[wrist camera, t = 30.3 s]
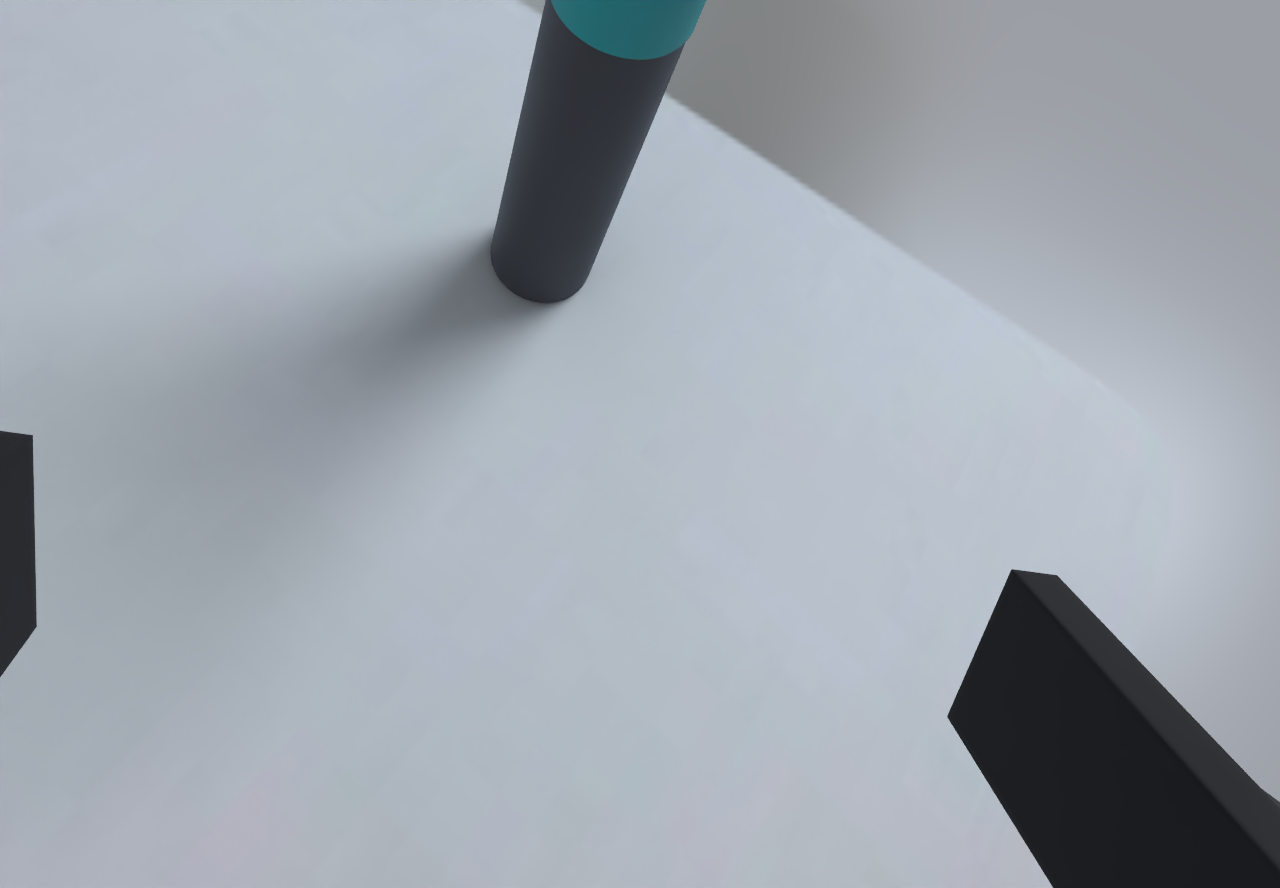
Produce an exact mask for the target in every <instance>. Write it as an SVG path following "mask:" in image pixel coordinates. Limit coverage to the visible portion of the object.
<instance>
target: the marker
mask: <svg viewBox="0 0 1280 888" xmlns="http://www.w3.org/2000/svg"><path fill="white" fill-rule="evenodd" d="M705 2H706V0H546V1H545V6H544V10H543V15H542V19H541V24H540V28H539V33H538V37H537V42H536V46H535V51H534V56H533V60H532V65H531V69H530V74H529V78H528V83H527V87H526V92H525V96H524V101H523V105H522V110H521V114H520V119H519V123H518V128H517V132H516V137H515V141H514V146H513V150H512V155H511V159H510V164H509V168H508V173H507V178H506V182H505V187H504V191H503V196H502V200H501V205H500V209H499V214H498V218H497V223H496V227H495V232H494V236H493V241H492V245H491V260H492V265H493V267H494V270H495V272H496V274H497V276H498V277H499V279H500V280H501V281H502V283H503V284H504V285H505V286H506V287H507V288H509V289H510V290H511V291H512V292H514V293H515V294H517V295H519V296H521V297H523V298H525V299H528V300H532V301H536V302H556V301H560V300H563V299H565V298H568V297H570V296H571V295H573V294H575V293H576V292H577V291H578V290H579V289H580V288H581V287H582V286H583V284H584V283H585V281H586V279H587V277H588V275H589V273H590V270H591V268H592V266H593V263H594V261H595V258H596V256H597V254H598V251H599V249H600V246H601V244H602V242H603V239H604V237H605V234H606V232H607V230H608V227H609V225H610V222H611V220H612V218H613V215H614V213H615V210H616V208H617V206H618V203H619V201H620V198H621V196H622V194H623V191H624V189H625V186H626V184H627V182H628V179H629V177H630V174H631V172H632V170H633V167H634V165H635V162H636V160H637V158H638V155H639V153H640V150H641V148H642V146H643V143H644V141H645V138H646V136H647V133H648V131H649V129H650V126H651V124H652V121H653V119H654V117H655V114H656V112H657V109H658V107H659V105H660V102H661V100H662V97H663V95H664V93H665V90H666V88H667V85H668V83H669V81H670V78H671V76H672V73H673V71H674V69H675V66H676V64H677V61H678V59H679V57H680V54H681V52H682V49H683V47H684V45H685V42H686V41H687V40H688V38H689V37H690V36H691V34H692V32H693V30H694V28H695V26H696V23H697V21H698V19H699V16H700V14H701V11H702V9H703V7H704V4H705Z"/></svg>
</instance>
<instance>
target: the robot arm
mask: <svg viewBox="0 0 1280 888" xmlns="http://www.w3.org/2000/svg"><path fill="white" fill-rule="evenodd" d="M36 627H37V624H36V575H35V527H34V478H33V435H26V434H19V433H11V432H4V431H0V677H1V675H2V674H3V673H4V671H5V670H6V668H7V667H8V666H9V664H10V663H11V661H12V660H13V659H14V657H15V656H16V655H17V653H18V652H19V650H20V649H21V648H22V646H23V645H24V643H25V642H26V641H27V639H28V638H29V636H30V635H31V634H32V632H33V631H34V630H35V628H36ZM947 717H948V719H949V720H950V722H951V724H952V725H953V727H954V728H955V730H956V732H957V733H958V735H959V737H960V738H961V740H962V741H963V743H964V745H965V746H966V748H967V749H968V751H969V753H970V754H971V756H972V757H973V759H974V761H975V762H976V764H977V766H978V767H979V769H980V770H981V772H982V774H983V775H984V777H985V778H986V780H987V782H988V783H989V785H990V786H991V788H992V790H993V791H994V793H995V795H996V796H997V798H998V799H999V801H1000V803H1001V804H1002V806H1003V807H1004V809H1005V811H1006V812H1007V814H1008V816H1009V817H1010V819H1011V820H1012V822H1013V824H1014V825H1015V827H1016V828H1017V830H1018V832H1019V833H1020V835H1021V836H1022V838H1023V840H1024V841H1025V843H1026V845H1027V846H1028V848H1029V849H1030V851H1031V853H1032V854H1033V856H1034V857H1035V859H1036V861H1037V862H1038V864H1039V865H1040V867H1041V869H1042V870H1043V872H1044V874H1045V875H1046V877H1047V878H1048V880H1049V882H1050V883H1051V885H1052V886H1053V888H1280V802H1279V801H1277V800H1276V799H1275V798H1273V797H1272V796H1271V795H1269V794H1268V793H1266V792H1265V791H1264V790H1262V789H1261V788H1260V787H1259V786H1258V785H1257V784H1256V783H1255V782H1254V781H1253V780H1252V779H1251V778H1250V777H1249V776H1248V774H1247V773H1246V772H1244V770H1243V769H1242V768H1241V767H1240V766H1239V765H1238V764H1237V763H1236V762H1235V761H1234V760H1233V759H1232V758H1231V757H1230V756H1229V755H1228V754H1227V753H1226V752H1225V750H1224V749H1223V748H1222V747H1221V746H1220V745H1219V744H1218V743H1217V742H1216V741H1215V740H1214V739H1213V738H1212V737H1211V736H1210V735H1209V734H1208V733H1207V732H1206V731H1205V730H1204V729H1203V727H1202V726H1201V725H1200V724H1199V723H1198V722H1197V721H1196V720H1195V719H1194V718H1193V717H1192V716H1191V715H1190V714H1189V713H1188V712H1187V711H1186V710H1185V709H1184V708H1183V707H1182V705H1180V703H1179V702H1178V701H1177V700H1176V699H1175V698H1174V697H1173V696H1172V695H1171V694H1170V693H1169V692H1168V691H1167V690H1166V689H1165V688H1164V687H1163V686H1162V685H1161V684H1160V683H1159V681H1158V680H1157V679H1156V678H1155V677H1154V676H1153V675H1152V674H1151V673H1150V672H1149V671H1148V670H1147V669H1146V668H1145V667H1144V666H1143V665H1142V664H1141V663H1140V662H1139V661H1138V660H1137V658H1136V657H1135V656H1134V655H1133V654H1132V653H1131V652H1130V651H1129V650H1128V649H1127V648H1126V647H1125V646H1124V645H1123V644H1122V643H1121V642H1120V641H1119V640H1118V639H1117V638H1116V637H1115V635H1114V634H1113V633H1112V632H1111V631H1110V630H1109V629H1108V628H1107V627H1106V626H1105V625H1104V624H1103V623H1102V622H1101V621H1100V620H1099V619H1098V618H1097V617H1096V616H1095V615H1094V614H1093V612H1092V611H1091V610H1090V609H1089V608H1088V607H1087V606H1086V605H1085V604H1084V603H1083V602H1082V601H1081V600H1080V599H1079V598H1078V597H1077V596H1076V595H1075V594H1074V593H1073V592H1072V591H1071V589H1070V588H1069V587H1068V586H1067V585H1066V584H1065V583H1064V582H1063V581H1062V580H1061V579H1060V578H1059V577H1058V576H1057V575H1050V574H1042V573H1035V572H1028V571H1020V570H1013V569H1012V570H1011V572H1010V574H1009V576H1008V579H1007V581H1006V583H1005V586H1004V588H1003V590H1002V592H1001V595H1000V597H999V599H998V602H997V604H996V606H995V608H994V611H993V613H992V615H991V618H990V620H989V622H988V625H987V627H986V629H985V631H984V634H983V636H982V638H981V641H980V643H979V645H978V647H977V650H976V652H975V654H974V657H973V659H972V661H971V663H970V666H969V668H968V670H967V673H966V675H965V677H964V679H963V682H962V684H961V686H960V689H959V691H958V693H957V695H956V698H955V700H954V702H953V705H952V707H951V709H950V711H949V714H948V716H947Z"/></svg>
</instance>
